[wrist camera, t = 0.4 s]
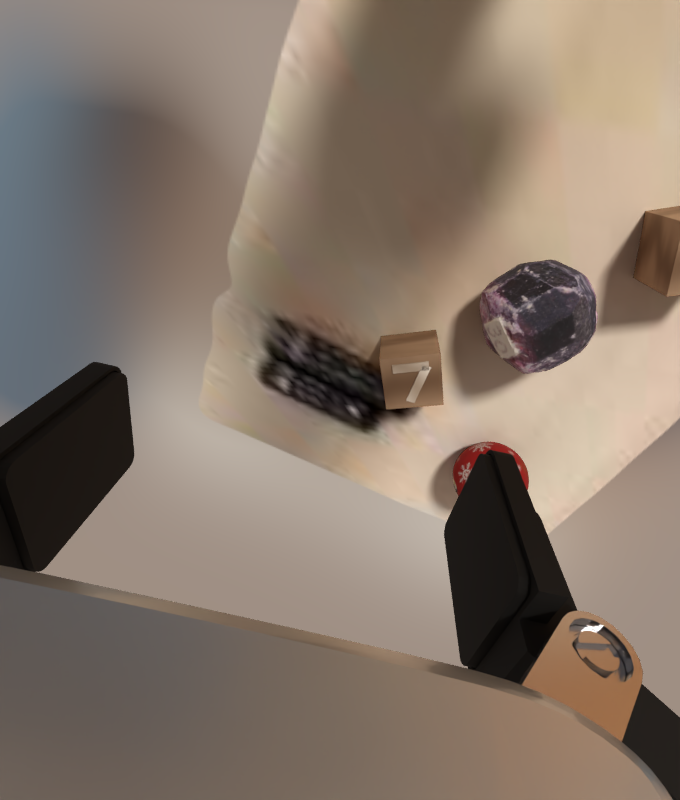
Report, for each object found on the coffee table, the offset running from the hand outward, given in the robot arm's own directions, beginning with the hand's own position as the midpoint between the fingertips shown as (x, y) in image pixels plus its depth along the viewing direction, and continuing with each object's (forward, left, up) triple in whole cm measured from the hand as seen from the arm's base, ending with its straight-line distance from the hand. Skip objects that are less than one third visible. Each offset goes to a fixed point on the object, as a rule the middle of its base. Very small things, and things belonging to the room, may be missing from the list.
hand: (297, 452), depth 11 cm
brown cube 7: (+15, +3, -35) cm, 38 cm away
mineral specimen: (+10, +15, -35) cm, 40 cm away
